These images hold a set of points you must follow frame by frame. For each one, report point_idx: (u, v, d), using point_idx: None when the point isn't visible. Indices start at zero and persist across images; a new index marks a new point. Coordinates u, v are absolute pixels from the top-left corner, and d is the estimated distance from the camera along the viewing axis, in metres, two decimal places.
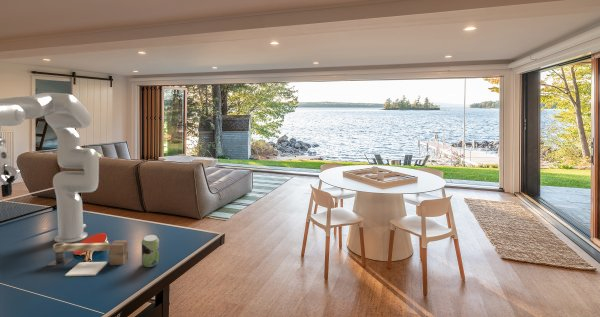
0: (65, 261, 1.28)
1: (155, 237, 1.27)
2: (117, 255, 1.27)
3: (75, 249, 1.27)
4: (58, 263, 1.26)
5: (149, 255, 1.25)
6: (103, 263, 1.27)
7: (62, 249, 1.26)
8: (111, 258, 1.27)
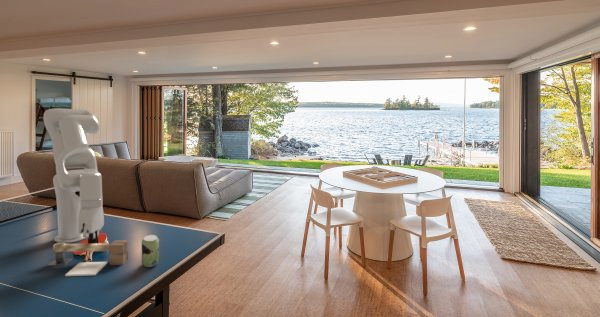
0: (65, 261, 1.28)
1: (155, 237, 1.27)
2: (117, 255, 1.27)
3: (75, 249, 1.27)
4: (58, 263, 1.26)
5: (149, 255, 1.25)
6: (103, 263, 1.27)
7: (62, 249, 1.26)
8: (111, 258, 1.27)
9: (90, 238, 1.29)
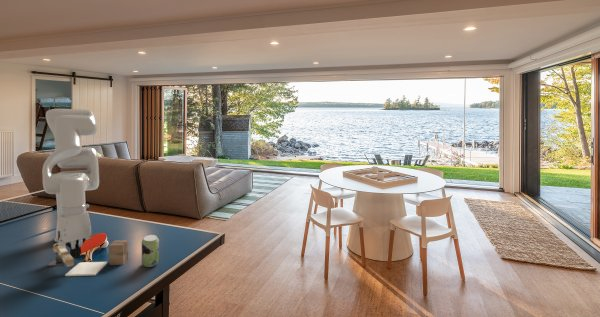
0: None
1: (155, 237, 1.27)
2: (117, 255, 1.27)
3: (59, 254, 1.22)
4: (58, 263, 1.26)
5: (149, 255, 1.25)
6: (103, 263, 1.27)
7: (56, 250, 1.25)
8: (111, 258, 1.27)
9: (69, 247, 1.20)
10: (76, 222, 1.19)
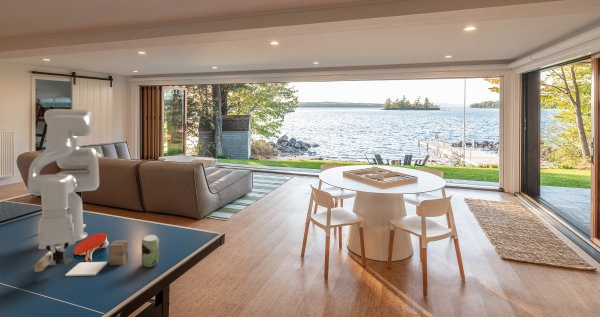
0: (65, 261, 1.28)
1: (155, 237, 1.27)
2: (117, 255, 1.27)
3: None
4: (58, 263, 1.26)
5: (149, 255, 1.25)
6: (103, 263, 1.27)
7: None
8: (111, 258, 1.27)
9: None
10: (54, 226, 1.14)
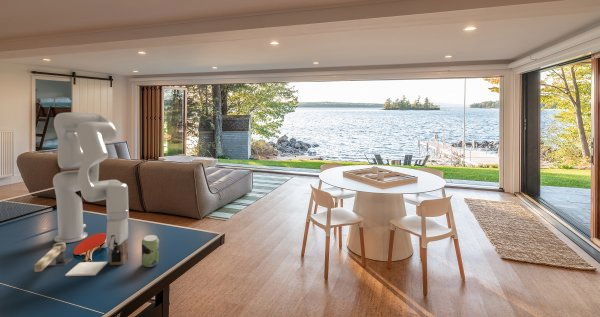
0: (65, 261, 1.28)
1: (155, 237, 1.27)
2: None
3: None
4: (58, 263, 1.26)
5: (149, 255, 1.25)
6: (103, 263, 1.27)
7: None
8: None
9: (114, 252, 1.25)
10: (124, 225, 1.28)
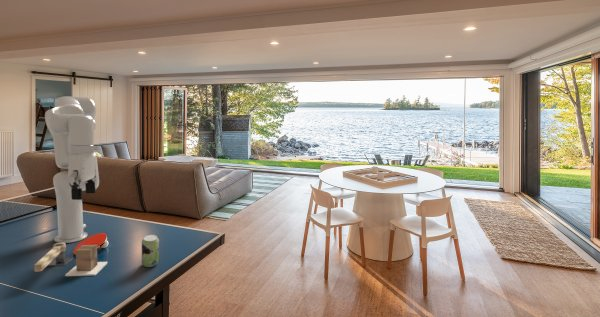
0: (65, 261, 1.28)
1: (155, 237, 1.27)
2: (84, 261, 1.20)
3: None
4: (58, 263, 1.26)
5: (149, 255, 1.25)
6: (103, 263, 1.27)
7: None
8: (78, 264, 1.20)
9: (74, 187, 1.13)
10: (89, 161, 1.18)
